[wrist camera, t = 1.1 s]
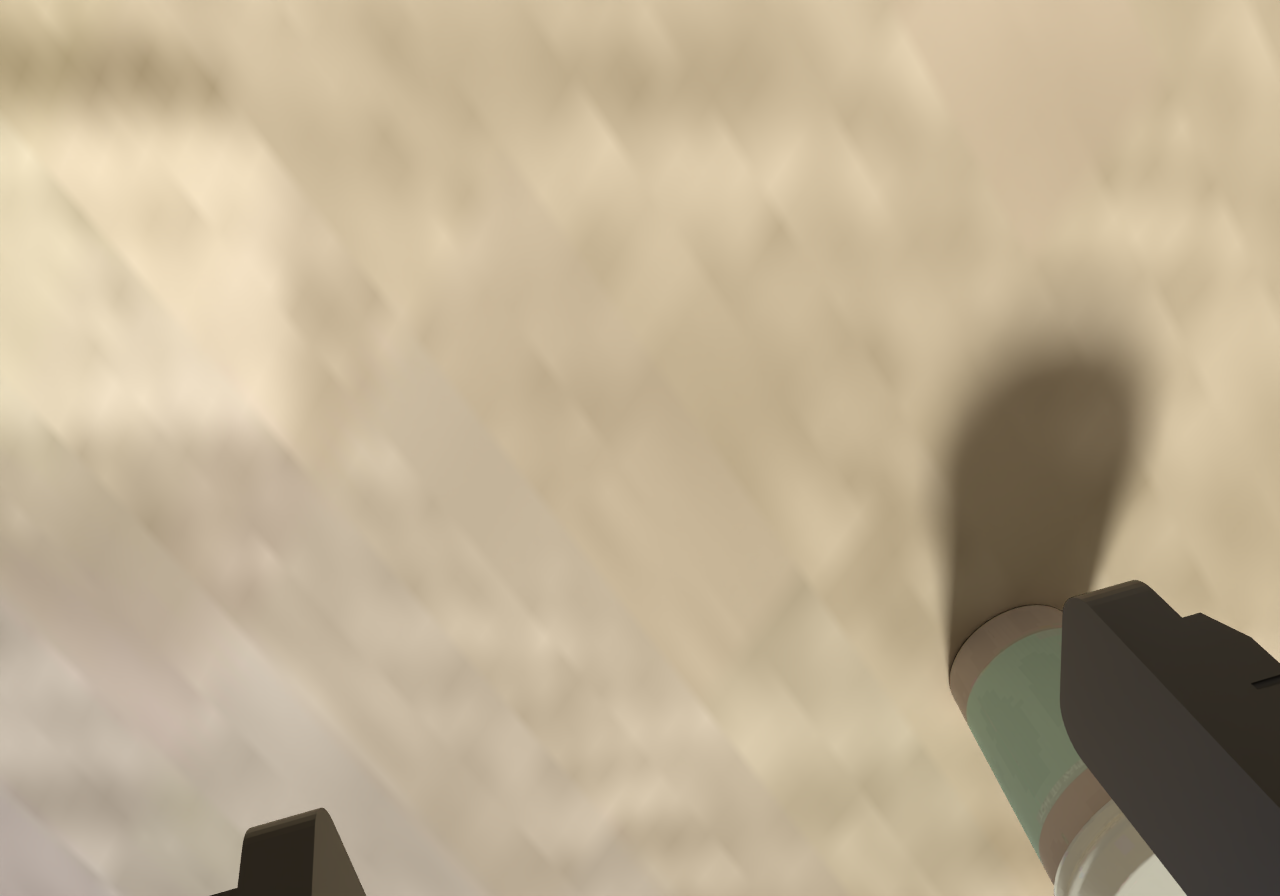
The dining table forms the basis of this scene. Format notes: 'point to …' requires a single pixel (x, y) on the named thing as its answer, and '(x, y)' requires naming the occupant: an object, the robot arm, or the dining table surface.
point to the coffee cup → (1048, 760)
